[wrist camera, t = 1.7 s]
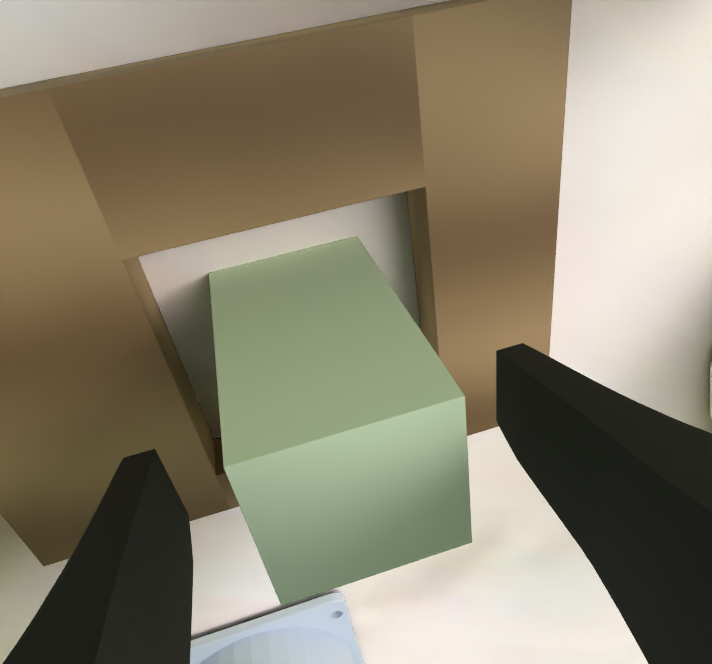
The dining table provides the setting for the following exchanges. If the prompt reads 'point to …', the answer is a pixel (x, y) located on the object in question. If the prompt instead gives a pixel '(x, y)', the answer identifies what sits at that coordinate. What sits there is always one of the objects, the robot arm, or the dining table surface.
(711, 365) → the kettle
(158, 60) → the pocket board
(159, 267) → the dining table surface
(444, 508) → the block
